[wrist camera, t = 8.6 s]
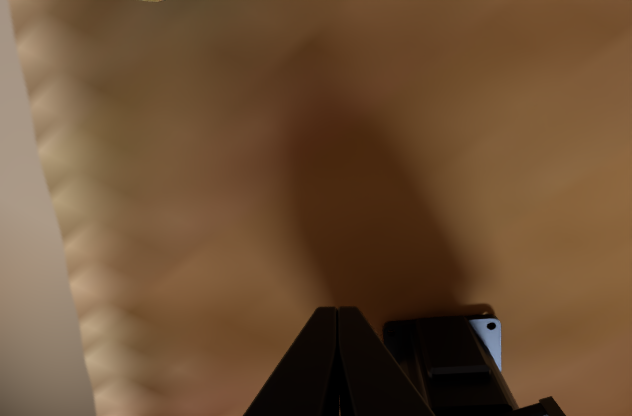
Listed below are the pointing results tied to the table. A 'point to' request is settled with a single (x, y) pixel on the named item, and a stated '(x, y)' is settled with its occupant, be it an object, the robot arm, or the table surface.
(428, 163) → the table surface
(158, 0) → the cupcake
